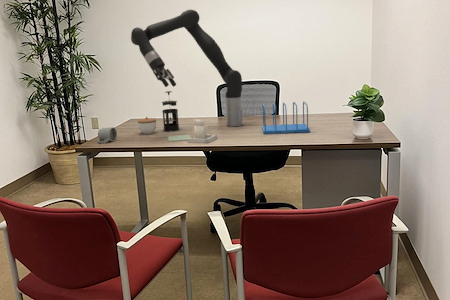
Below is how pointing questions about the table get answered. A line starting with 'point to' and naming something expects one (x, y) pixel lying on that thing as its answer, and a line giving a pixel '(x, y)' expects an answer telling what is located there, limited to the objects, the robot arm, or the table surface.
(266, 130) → the file sorter
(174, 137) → the mat
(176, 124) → the french press
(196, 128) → the figurine
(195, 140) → the holder
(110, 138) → the ceramic mug
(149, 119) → the lidded jar
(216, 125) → the table surface
